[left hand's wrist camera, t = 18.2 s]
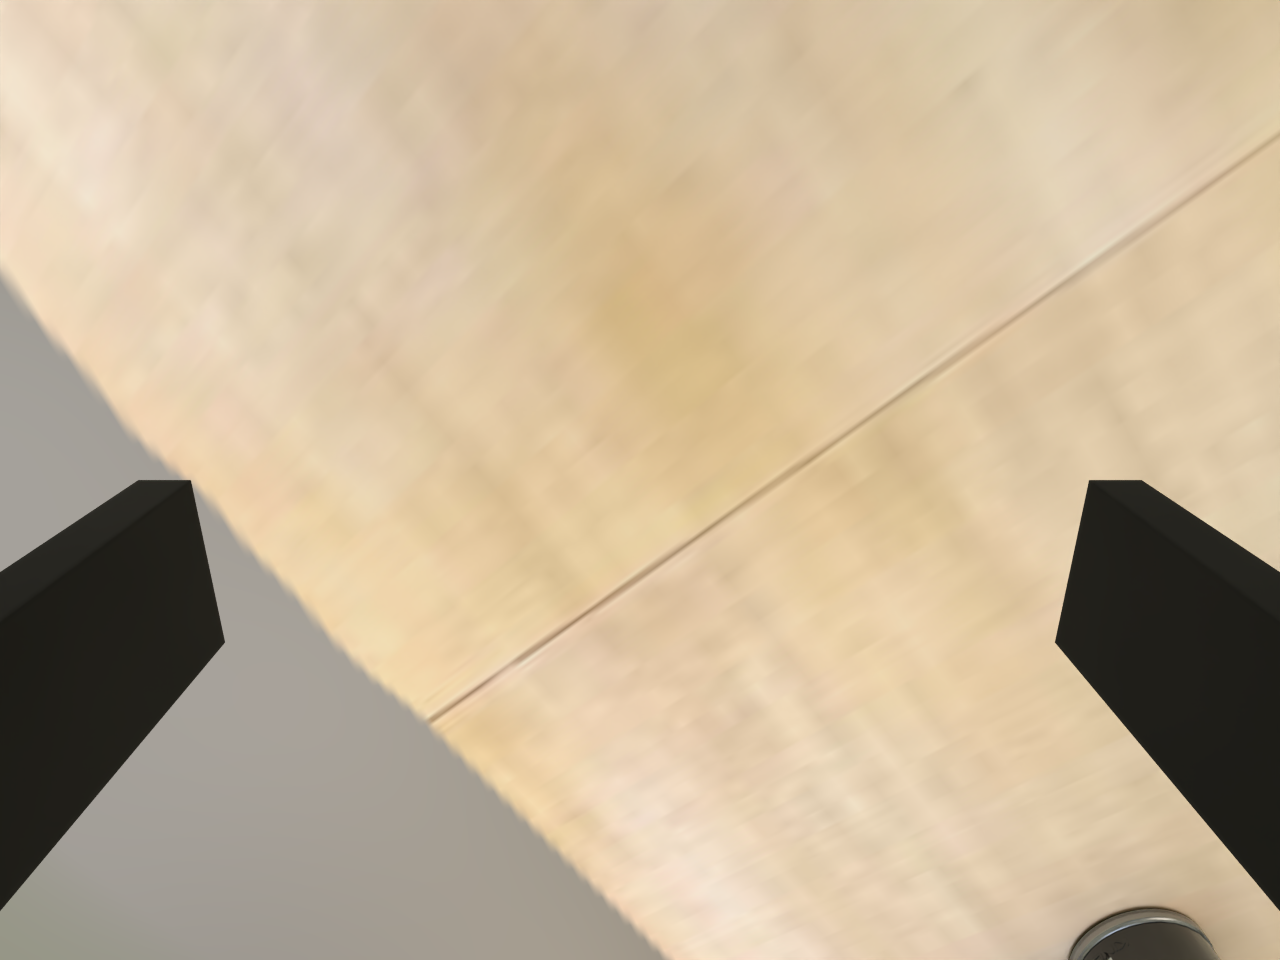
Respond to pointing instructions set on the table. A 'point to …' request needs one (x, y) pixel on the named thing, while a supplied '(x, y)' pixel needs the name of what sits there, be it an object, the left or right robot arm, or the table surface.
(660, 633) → the table surface
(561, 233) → the table surface
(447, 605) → the table surface
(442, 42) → the table surface
